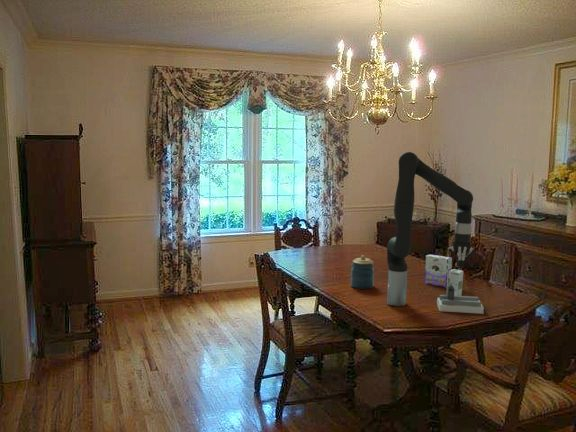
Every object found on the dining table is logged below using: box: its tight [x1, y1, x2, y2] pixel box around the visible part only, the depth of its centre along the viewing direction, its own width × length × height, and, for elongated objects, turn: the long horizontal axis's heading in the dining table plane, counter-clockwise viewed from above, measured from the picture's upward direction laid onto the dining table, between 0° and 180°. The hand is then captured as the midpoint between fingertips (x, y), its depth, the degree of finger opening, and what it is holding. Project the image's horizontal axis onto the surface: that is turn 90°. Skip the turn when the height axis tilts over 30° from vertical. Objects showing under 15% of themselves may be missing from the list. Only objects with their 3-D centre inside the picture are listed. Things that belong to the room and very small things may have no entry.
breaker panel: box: [436, 294, 485, 315], centre depth 255 cm, size 20×12×5 cm, turn 80°
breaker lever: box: [445, 284, 454, 300], centre depth 255 cm, size 3×5×8 cm, turn 170°
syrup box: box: [448, 268, 464, 296], centre depth 272 cm, size 6×6×14 cm
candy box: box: [423, 253, 453, 288], centre depth 297 cm, size 14×6×16 cm, turn 47°
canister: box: [350, 254, 375, 290], centre depth 292 cm, size 13×13×18 cm
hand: (460, 267), depth 252 cm, fingers closed
